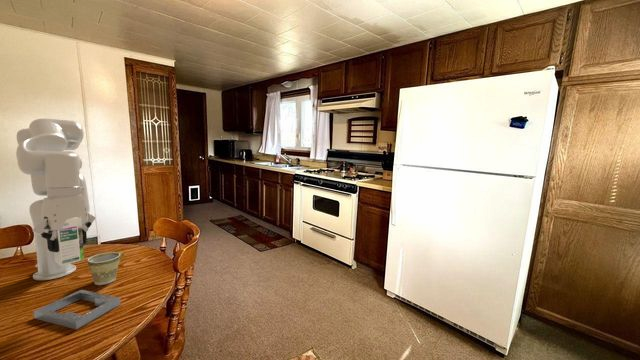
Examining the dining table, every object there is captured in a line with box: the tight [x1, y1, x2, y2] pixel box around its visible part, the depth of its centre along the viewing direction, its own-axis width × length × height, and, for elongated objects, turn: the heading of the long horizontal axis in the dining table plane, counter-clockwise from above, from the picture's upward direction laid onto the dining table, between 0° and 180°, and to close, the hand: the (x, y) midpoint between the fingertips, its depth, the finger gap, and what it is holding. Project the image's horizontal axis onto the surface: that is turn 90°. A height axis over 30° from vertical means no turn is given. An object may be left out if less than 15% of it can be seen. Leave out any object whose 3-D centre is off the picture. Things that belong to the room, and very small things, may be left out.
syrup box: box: [54, 217, 85, 266], centre depth 82 cm, size 6×6×14 cm
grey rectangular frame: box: [33, 289, 121, 330], centre depth 84 cm, size 18×13×2 cm
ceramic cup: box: [87, 251, 125, 286], centre depth 104 cm, size 13×10×10 cm
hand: (68, 246), depth 83 cm, fingers closed on syrup box, 6 cm apart
